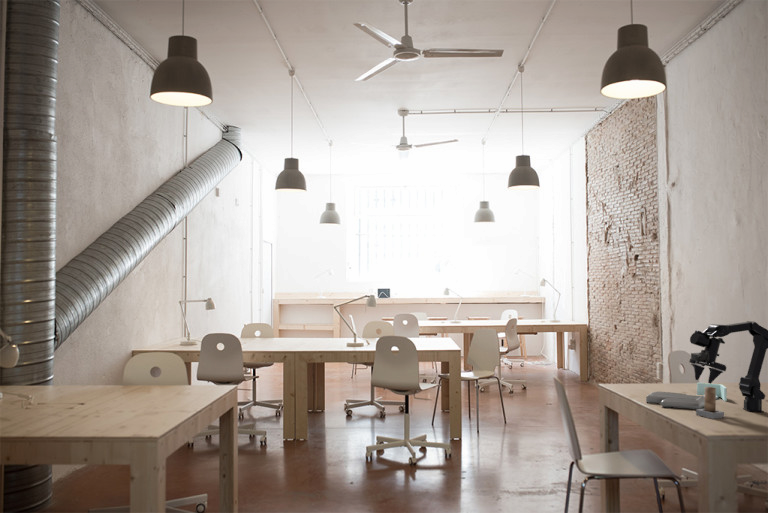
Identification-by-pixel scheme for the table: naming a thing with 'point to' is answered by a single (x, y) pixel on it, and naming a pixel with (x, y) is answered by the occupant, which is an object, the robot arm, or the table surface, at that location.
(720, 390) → the l-shaped corner panel
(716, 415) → the socket block
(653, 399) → the emblem
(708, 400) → the walnut dowel
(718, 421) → the table surface
